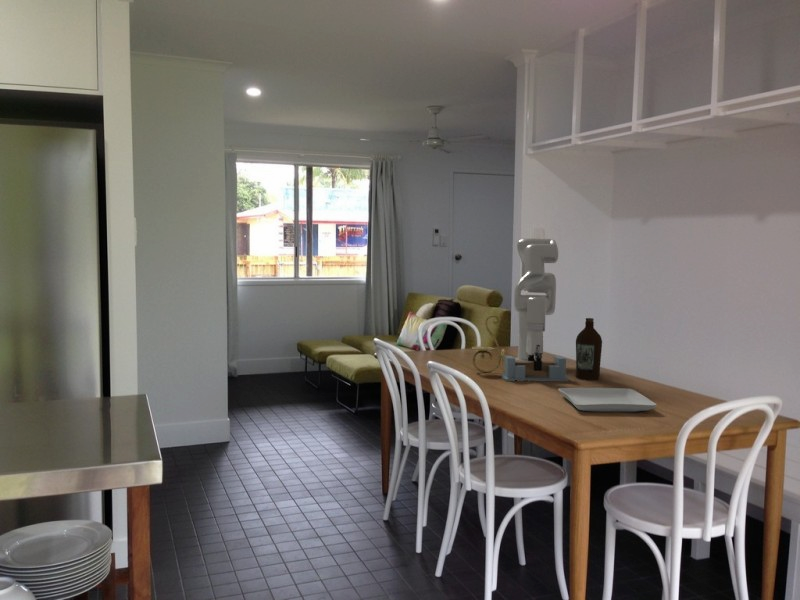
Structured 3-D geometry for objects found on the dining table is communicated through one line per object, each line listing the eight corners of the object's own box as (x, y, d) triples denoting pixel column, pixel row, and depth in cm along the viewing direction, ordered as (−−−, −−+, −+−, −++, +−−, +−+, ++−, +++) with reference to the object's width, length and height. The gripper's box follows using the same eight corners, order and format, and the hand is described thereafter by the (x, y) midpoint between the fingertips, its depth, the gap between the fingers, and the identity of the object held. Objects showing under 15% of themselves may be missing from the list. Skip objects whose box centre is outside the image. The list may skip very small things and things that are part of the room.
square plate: (630, 397, 260) (631, 387, 260) (657, 415, 233) (658, 404, 232) (557, 396, 260) (557, 386, 260) (575, 414, 233) (576, 403, 232)
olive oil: (579, 374, 303) (581, 316, 301) (604, 377, 297) (606, 318, 295) (570, 378, 294) (572, 318, 292) (596, 381, 288) (598, 320, 286)
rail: (514, 375, 294) (514, 361, 293) (552, 375, 295) (552, 361, 294) (516, 377, 290) (516, 362, 289) (554, 377, 291) (555, 362, 290)
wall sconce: (501, 370, 310) (502, 313, 308) (505, 374, 301) (506, 316, 299) (469, 370, 310) (471, 313, 308) (472, 374, 300) (474, 315, 298)
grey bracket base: (500, 376, 297) (501, 355, 296) (561, 376, 298) (562, 355, 297) (505, 381, 287) (506, 359, 286) (568, 381, 288) (569, 359, 287)
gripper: (521, 324, 299) (520, 364, 300) (531, 329, 282) (530, 372, 283) (539, 324, 299) (538, 365, 301) (550, 329, 282) (549, 372, 284)
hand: (534, 368), depth 292 cm, fingers open, 9 cm apart
